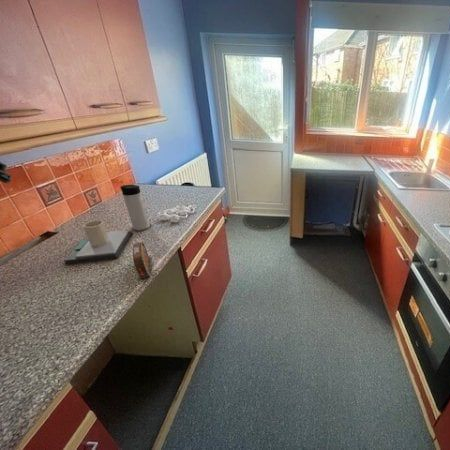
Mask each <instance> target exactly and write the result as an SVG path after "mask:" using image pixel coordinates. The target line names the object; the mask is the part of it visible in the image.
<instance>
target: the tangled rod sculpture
mask: <svg viewBox="0 0 450 450" xmlns="http://www.w3.org/2000/svg"><path fill="white" fill-rule="evenodd" d="M197 208H198V207H197V205H196V204H188V205H177V206H176V207H172V208H168V209H165V210H162V211H160V212H158V214H157V216H156V218H157V219H159V220H161V221H163V222H164V221H169V220H170V222H171V223H177V222H179V221H180V219H186V218H188V215H189V214H194V213H195V212H196V209H197ZM178 214H180V215H181V216H180V215H178Z"/></svg>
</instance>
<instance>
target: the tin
mask: <svg viewBox="0 0 450 450" xmlns="http://www.w3.org/2000/svg"><path fill="white" fill-rule="evenodd" d="M144 243H145V242H144V241H140V242H137V243H134V244H133V246H132V259H133V264H134V267H135V270H136V271H137V274H138V276H139V278H140V279H144V278H148V277H151V275H150V274H149V260H150V258H149V257H150V256H149V253H148V251H147V248H146V246H145V244H144Z"/></svg>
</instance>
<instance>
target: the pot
mask: <svg viewBox="0 0 450 450" xmlns="http://www.w3.org/2000/svg"><path fill="white" fill-rule="evenodd" d="M82 227H83V228H82V229H83V230H84V232H85V235H86V236H87V237H88V240H89V242H90V244H91V246H93V247H98V246H103V245H105V244H107V243H109V241H110V240H109V237H108V234H107V232H108V231H107V228H106V226H105V223H104V221H103V220H100V219H97V220H94V219H93V220H90V221H87V222H85V223H83V224H82Z"/></svg>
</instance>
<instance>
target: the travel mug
mask: <svg viewBox="0 0 450 450" xmlns="http://www.w3.org/2000/svg"><path fill="white" fill-rule="evenodd" d="M120 190H121V194H122V196H123V197H122V198H123V199H124V203H125V206H126V209H127V213H128V217H129V219H130V223H131V225H132V228H133V231H136V232H141V231H146V230H148V229H150V227H151V225H150V220H149V216H148V213H147V210H146V207H145V203H144V202H145V201H144V199H143V196H142V191H141V189H140V185H135V184H124V185H121V186H120Z"/></svg>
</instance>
